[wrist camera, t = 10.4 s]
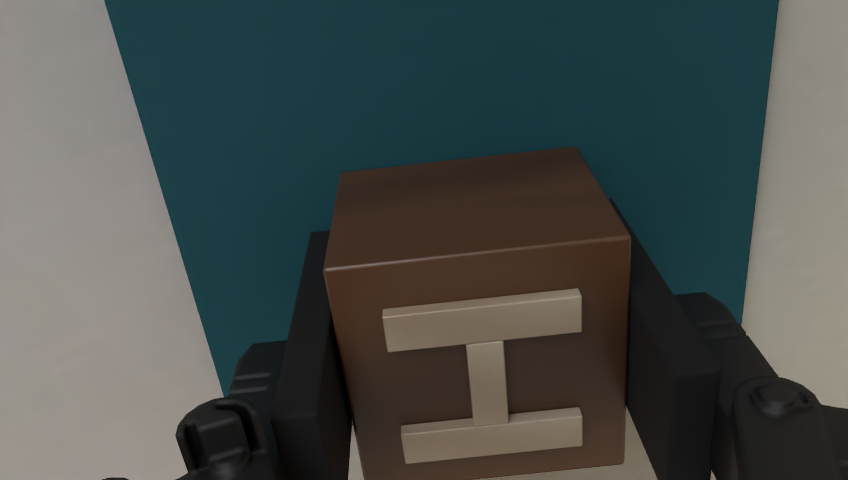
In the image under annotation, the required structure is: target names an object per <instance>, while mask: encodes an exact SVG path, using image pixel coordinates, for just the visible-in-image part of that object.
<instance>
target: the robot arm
mask: <svg viewBox="0 0 848 480" xmlns="http://www.w3.org/2000/svg"><path fill="white" fill-rule="evenodd" d="M608 200H609V201H610V203H611V204H612V206H613V208H614V209H615V211H616V213H617V214H618V216H619V218H620V219H621V221H622V223H623V224H624V226H625V227H626V229H627V231H628V232H629V234H630V236H631V259H630V291H629V323H628V355H627V386H626V406H627V408H628V410H629V413H630V415H631V418H632V420H633V422H634V425H635V427H636V429H637V432H638V434H639V436H640V439H641V441H642V443H643V446H644V448H645V450H646V453H647V455H648V457H649V460H650V462H651V464H652V467H653V469H654V472H655V474H656V476H657V479H658V480H710V478H711V470H712V472H713V473H714V475H715V477H716V479H717V480H848V409H844V408H836V407H831V406H825V405H822V404H820V403H819V401H818V400H817V398H816V396H815V395H814V394H813V393H812V392H811V391H809V390H808V389H807V388H805V387H804V386H803V385H801V384H798V383H796V382H793V381H791V380H789V379H785V378H780V377H778V375H777V374H776V373H775V371H774V370H773V369H772V367H771V366H770V365H769V363H768V362H767V361H766V359H765V358H764V357H763V355H762V354H761V353H760V351H759V350H758V348H757V347H756V346H755V344H754V343H753V342H752V340H751V339H750V338H749V336H746V332H745V331H744V330H743V328H742V327H741V326H740V324H739V323H737V322H736V319H735V317H734V316H733V315H732V313H731V312H730V311H729V309H728V308H727V307H726V305H725V304H724V303H722V302H720V301H719V300H717V299H715V298H714V297H712V296H711V295H709V294H707V293H706V292H698V293H689V294H680V295H673V293H672V292H671V290H670V288H669V287H668V285H667V284H666V282H665V281H664V279H663V278H662V276H661V274H660V273H659V271H658V270H657V268H656V267H655V265H654V263H653V262H652V260H651V259H650V257H649V256H648V254H647V253H646V251H645V249H644V248H643V246H642V245H641V243H640V242H639V240H638V238H637V237H636V235H635V234H634V232H633V231H632V229H631V228H630V226H629V224H628V223H627V221H626V220H625V218H624V217H623V215H622V214H621V212H620V210H619V209H618V207H617V206H616V204H615V203H614V201H613V199H612V198H608ZM329 233H330V230H327V231H318V232H311V233H310V238H309V242H308V247H307V251H306V256H305V261H304V265H303V270H302V274H301V279H300V284H299V288H298V293H297V297H296V302H295V307H294V311H293V316H292V320H291V325H290V330H289V334H288V339H287V340H283V341H274V342H265V343H256V344H252V345H251V346H250V347H249V349H248V350H247V351H246V352H245V353H244V354H243V355H242V356H241V358H240V359H239V360H238V362H237V366H236V369H235V372H234V375H233V381H232V382H231V385H230V389H229V395H227V397H224V398H218V399H213V400H211V401H208V402H206V403H204V404H201V405H199V406H197V407H196V408H195V409H193V410H192V411H191V412H189V413H188V414H186V416H185V417H184V418H183V419H182V421H181V422H180V423H179V425H178V428H177V432H176V439H177V442H178V445H179V448H180V450H181V453H182V456H183V459H184V462H185V465H186V468H187V470H188V473H187V474H185V475H184V476H182V477H180V478H178V479H176V480H348V470H349V456H350V442H351V428H352V415H351V410H350V405H349V400H348V395H347V390H346V385H345V380H344V375H343V370H342V365H341V360H340V355H339V350H338V344H337V339H336V334H335V329H334V324H333V319H332V314H331V309H330V304H329V299H328V294H327V289H326V284H325V279H324V273H323V268H324V262H325V256H326V251H327V245H328V239H329ZM103 480H128V479H126V478H106V479H103Z"/></svg>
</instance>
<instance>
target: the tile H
mask: <svg viewBox="0 0 848 480" xmlns="http://www.w3.org/2000/svg"><path fill="white" fill-rule="evenodd" d="M630 259H631V236H630V234H629V232H628V231H627V229H626V227H625V226H624V224H623V223H622V221H621V219H620V218H619V216H618V214H617V213H616V211H615V209H614V208H613V206H612V204H611V203H610V201H609V200H608V198H607V196H606V195H605V193H604V191H603V190H602V188H601V186H600V185H599V183H598V181H597V180H596V178H595V177H594V175H593V173H592V172H591V170H590V168H589V167H588V165H587V163H586V162H585V160H584V159H583V157H582V155H581V154H580V152H579V150H578V149H577V147H566V148H557V149H547V150H538V151H529V152H520V153H511V154H502V155H493V156H484V157H475V158H466V159H457V160H448V161H439V162H430V163H421V164H412V165H403V166H394V167H385V168H376V169H367V170H358V171H349V172H342V173H340V176H339V182H338V188H337V194H336V199H335V205H334V211H333V216H332V222H331V228H330V233H329V239H328V245H327V251H326V256H325V262H324V268H323V273H324V279H325V284H326V289H327V294H328V299H329V304H330V309H331V314H332V319H333V324H334V329H335V334H336V339H337V344H338V350H339V355H340V360H341V365H342V370H343V375H344V380H345V385H346V390H347V395H348V400H349V405H350V410H351V415H352V421H353V426H354V431H355V436H356V441H357V446H358V451H359V456H360V461H361V466H362V471H363V476H364V480H472V479H481V478H491V477H501V476H511V475H521V474H530V473H540V472H550V471H560V470H570V469H579V468H589V467H599V466H609V465H619V464H623V463H624V450H625V418H626V386H627V355H628V323H629V291H630Z"/></svg>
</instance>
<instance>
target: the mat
mask: <svg viewBox="0 0 848 480" xmlns="http://www.w3.org/2000/svg"><path fill="white" fill-rule="evenodd" d="M104 1H105V4H106V8H107V11H108V14H109V17H110V21H111V24H112V27H113V31H114V34H115V37H116V41H117V44H118V47H119V51H120V54H121V57H122V60H123V64H124V67H125V70H126V74H127V77H128V80H129V84H130V87H131V90H132V94H133V97H134V100H135V103H136V107H137V110H138V113H139V117H140V120H141V123H142V127H143V130H144V133H145V137H146V140H147V143H148V146H149V150H150V153H151V156H152V160H153V163H154V166H155V170H156V173H157V176H158V180H159V183H160V186H161V189H162V193H163V196H164V199H165V203H166V206H167V209H168V213H169V216H170V219H171V223H172V226H173V229H174V232H175V236H176V239H177V242H178V246H179V249H180V252H181V256H182V259H183V262H184V266H185V269H186V272H187V275H188V279H189V282H190V285H191V289H192V292H193V295H194V299H195V302H196V305H197V308H198V312H199V315H200V318H201V322H202V325H203V328H204V332H205V335H206V338H207V342H208V345H209V348H210V351H211V355H212V358H213V361H214V365H215V368H216V371H217V375H218V378H219V381H220V385H221V388H222V391H223V394H224V397H227V395H229V389H230V385H231V382H232V381H233V375H234V372H235V369H236V366H237V362H238V360H239V359H240V358H241V356H242V355H243V354H244V353H245V352H246V351H247V350H248V349H249V347H250V346H251V345H252V344H256V343H265V342H274V341H283V340H287V339H288V334H289V330H290V325H291V320H292V316H293V311H294V307H295V302H296V297H297V293H298V288H299V284H300V279H301V274H302V270H303V265H304V261H305V256H306V251H307V247H308V242H309V238H310V233H311V232H318V231H327V230H330V228H331V222H332V216H333V211H334V205H335V199H336V194H337V188H338V182H339V176H340V173H342V172H349V171H358V170H367V169H376V168H385V167H394V166H403V165H412V164H421V163H430V162H439V161H448V160H457V159H466V158H475V157H484V156H493V155H502V154H511V153H520V152H529V151H538V150H547V149H557V148H566V147H577V149H578V150H579V152H580V154H581V155H582V157H583V159H584V160H585V162H586V163H587V165H588V167H589V168H590V170H591V172H592V173H593V175H594V177H595V178H596V180H597V181H598V183H599V185H600V186H601V188H602V190H603V191H604V193H605V195H606V196H607V198H612V199H613V201H614V203H615V204H616V206H617V207H618V209H619V210H620V212H621V214H622V215H623V217H624V218H625V220H626V221H627V223H628V224H629V226H630V228H631V229H632V231H633V232H634V234H635V235H636V237H637V238H638V240H639V242H640V243H641V245H642V246H643V248H644V249H645V251H646V253H647V254H648V256H649V257H650V259H651V260H652V262H653V263H654V265H655V267H656V268H657V270H658V271H659V273H660V274H661V276H662V278H663V279H664V281H665V282H666V284H667V285H668V287H669V288H670V290H671V292H672V293H673V295H680V294H689V293H698V292H706V293H707V294H709V295H711V296H712V297H714V298H715V299H717V300H719V301H720V302H722V303H724V304H725V305H726V307H727V308H728V309H729V311H730V312H731V313H732V315H733V316H734V317H735V319H736V322H737V323H739V324H740V326H741V323H742V314H743V305H744V297H745V288H746V279H747V271H748V262H749V254H750V245H751V236H752V228H753V219H754V210H755V202H756V193H757V184H758V176H759V167H760V159H761V150H762V141H763V133H764V124H765V115H766V107H767V98H768V89H769V81H770V72H771V63H772V55H773V46H774V38H775V29H776V20H777V12H778V3H779V0H104ZM352 425H353V421H352Z"/></svg>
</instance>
